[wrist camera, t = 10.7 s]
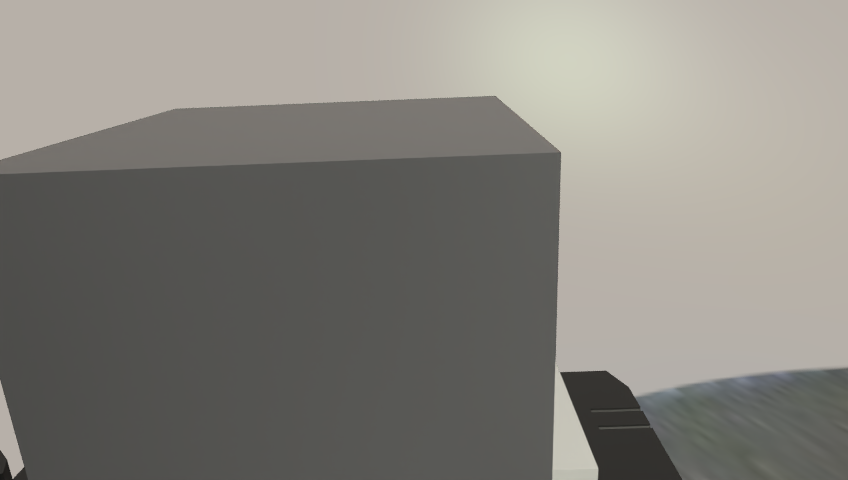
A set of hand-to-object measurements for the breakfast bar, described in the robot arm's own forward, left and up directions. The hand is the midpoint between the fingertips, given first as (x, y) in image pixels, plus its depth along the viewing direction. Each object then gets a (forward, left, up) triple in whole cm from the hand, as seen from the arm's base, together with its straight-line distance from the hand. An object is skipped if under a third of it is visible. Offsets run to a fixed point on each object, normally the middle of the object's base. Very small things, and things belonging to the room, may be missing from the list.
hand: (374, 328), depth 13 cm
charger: (0, +5, -7) cm, 9 cm away
